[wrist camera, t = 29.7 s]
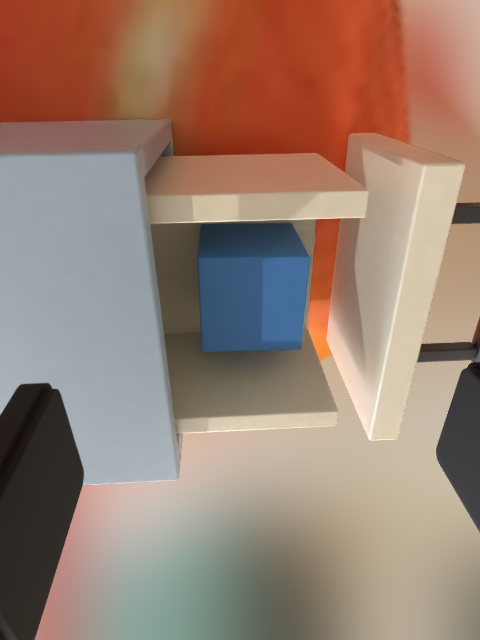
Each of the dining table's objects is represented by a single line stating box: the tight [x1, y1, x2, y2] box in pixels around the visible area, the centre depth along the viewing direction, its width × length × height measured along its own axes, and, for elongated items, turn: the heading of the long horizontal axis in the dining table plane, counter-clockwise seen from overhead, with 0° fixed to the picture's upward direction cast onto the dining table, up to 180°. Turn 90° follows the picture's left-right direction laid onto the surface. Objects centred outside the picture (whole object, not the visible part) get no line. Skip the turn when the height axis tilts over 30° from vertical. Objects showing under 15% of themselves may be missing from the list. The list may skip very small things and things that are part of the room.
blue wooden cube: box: [197, 223, 310, 352], centre depth 17 cm, size 4×4×4 cm
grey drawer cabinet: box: [0, 119, 183, 485], centre depth 16 cm, size 14×12×9 cm
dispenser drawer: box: [144, 133, 480, 440], centre depth 17 cm, size 18×10×7 cm, turn 91°
